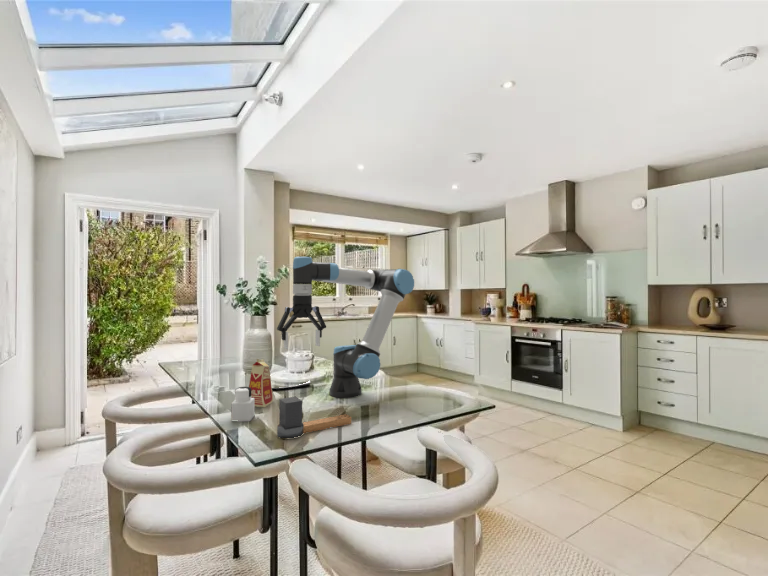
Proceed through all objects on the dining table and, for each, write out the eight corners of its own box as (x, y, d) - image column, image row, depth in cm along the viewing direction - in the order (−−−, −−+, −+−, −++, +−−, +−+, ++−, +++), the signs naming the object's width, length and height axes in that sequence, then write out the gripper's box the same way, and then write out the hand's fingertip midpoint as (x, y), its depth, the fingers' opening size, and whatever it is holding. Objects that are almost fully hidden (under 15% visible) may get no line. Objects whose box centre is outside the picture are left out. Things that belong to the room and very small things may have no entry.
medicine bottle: (236, 415, 160) (236, 385, 160) (254, 415, 161) (254, 385, 161) (230, 421, 153) (231, 390, 153) (250, 421, 154) (250, 390, 154)
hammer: (343, 418, 158) (343, 398, 158) (354, 425, 150) (354, 404, 150) (273, 432, 143) (273, 409, 143) (282, 441, 135) (282, 417, 135)
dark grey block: (295, 421, 146) (295, 396, 146) (301, 426, 141) (302, 400, 141) (279, 424, 142) (279, 399, 142) (285, 429, 137) (285, 403, 137)
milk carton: (264, 407, 171) (264, 360, 171) (244, 405, 173) (244, 359, 173) (274, 401, 180) (274, 356, 180) (255, 399, 182) (255, 355, 182)
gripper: (275, 295, 154) (274, 351, 154) (334, 294, 168) (333, 345, 168) (269, 294, 160) (268, 348, 161) (326, 294, 174) (326, 343, 174)
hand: (302, 347), depth 164 cm, fingers open, 13 cm apart
